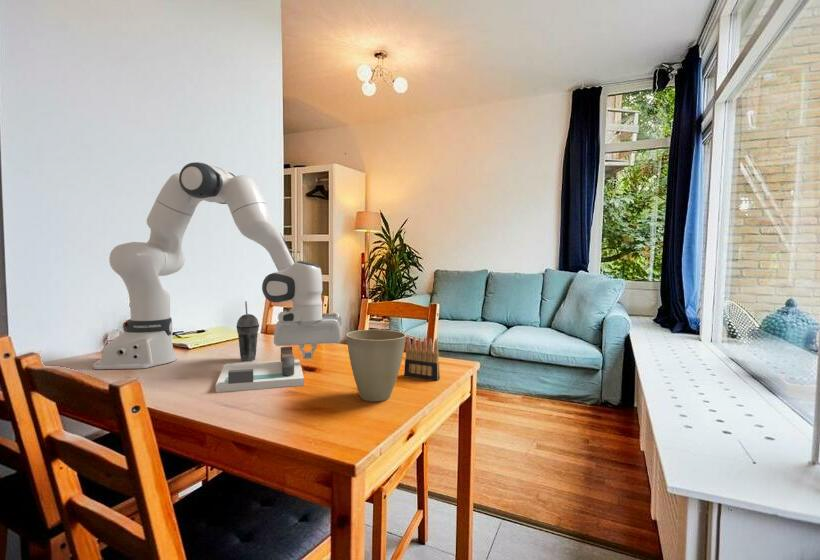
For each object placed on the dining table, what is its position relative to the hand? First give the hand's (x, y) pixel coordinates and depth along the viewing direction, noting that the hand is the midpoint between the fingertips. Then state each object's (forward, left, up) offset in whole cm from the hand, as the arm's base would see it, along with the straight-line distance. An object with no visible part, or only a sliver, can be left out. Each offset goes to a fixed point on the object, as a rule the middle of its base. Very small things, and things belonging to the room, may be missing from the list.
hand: (307, 358), depth 130 cm
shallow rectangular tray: (-13, -5, -4) cm, 15 cm away
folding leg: (-6, -5, -1) cm, 8 cm away
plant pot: (+14, -31, -4) cm, 34 cm away
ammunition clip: (+31, -18, -4) cm, 36 cm away
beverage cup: (-18, +18, -4) cm, 26 cm away
